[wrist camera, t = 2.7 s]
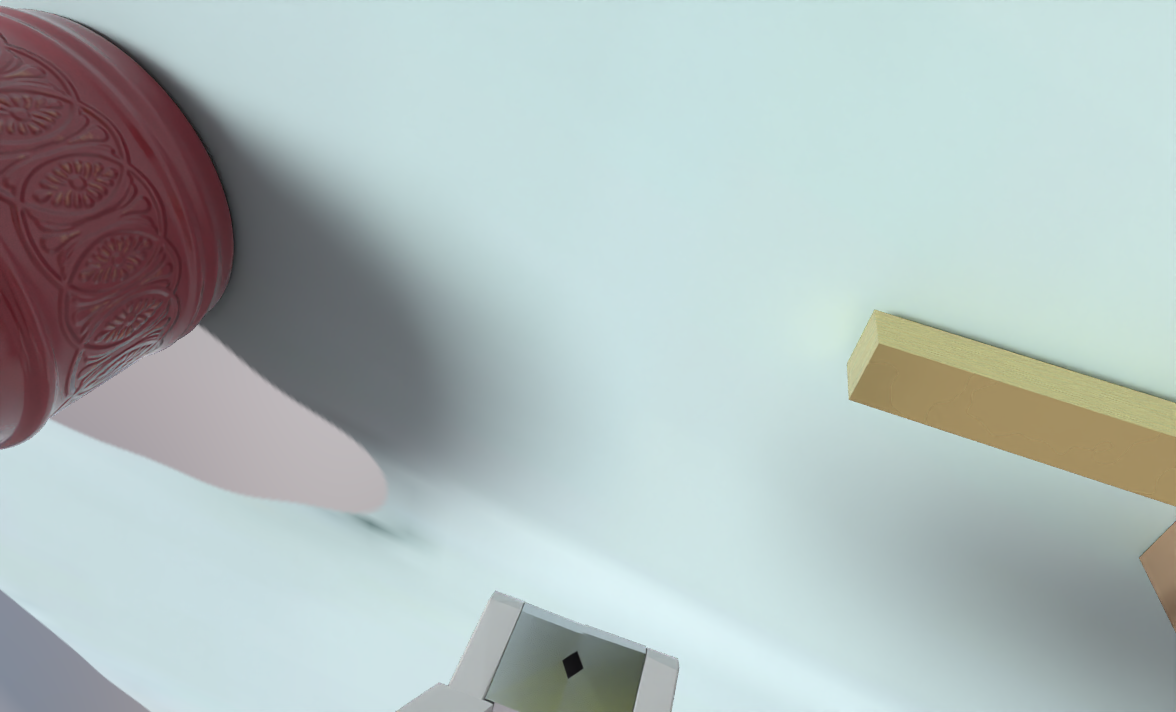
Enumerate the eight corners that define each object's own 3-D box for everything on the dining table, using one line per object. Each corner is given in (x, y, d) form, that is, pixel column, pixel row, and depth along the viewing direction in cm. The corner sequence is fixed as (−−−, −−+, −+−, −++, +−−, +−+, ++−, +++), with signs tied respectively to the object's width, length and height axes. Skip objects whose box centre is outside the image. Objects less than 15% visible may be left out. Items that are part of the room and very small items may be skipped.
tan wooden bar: (1306, 443, 19) (1351, 492, 18) (1253, 493, 20) (1291, 544, 19) (874, 309, 21) (878, 343, 19) (847, 363, 22) (848, 399, 20)
